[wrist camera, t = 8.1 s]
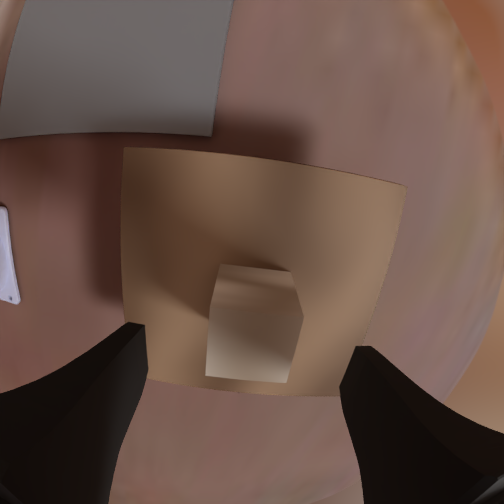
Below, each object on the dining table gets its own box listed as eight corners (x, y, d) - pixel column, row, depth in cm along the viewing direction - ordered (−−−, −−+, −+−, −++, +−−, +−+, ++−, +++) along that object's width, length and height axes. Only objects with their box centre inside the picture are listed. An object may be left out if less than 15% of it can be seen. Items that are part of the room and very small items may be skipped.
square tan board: (135, 366, 16) (111, 421, 12) (130, 146, 12) (79, 150, 8) (337, 387, 16) (354, 443, 12) (399, 184, 12) (455, 204, 8)
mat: (1, 139, 15) (-3, 139, 14) (48, -43, 9) (45, -45, 9) (211, 136, 15) (210, 136, 15) (250, -75, 10) (250, -79, 10)
